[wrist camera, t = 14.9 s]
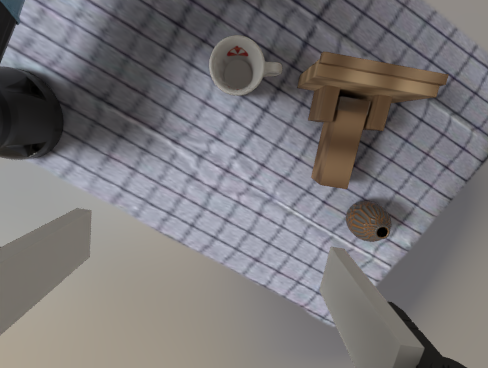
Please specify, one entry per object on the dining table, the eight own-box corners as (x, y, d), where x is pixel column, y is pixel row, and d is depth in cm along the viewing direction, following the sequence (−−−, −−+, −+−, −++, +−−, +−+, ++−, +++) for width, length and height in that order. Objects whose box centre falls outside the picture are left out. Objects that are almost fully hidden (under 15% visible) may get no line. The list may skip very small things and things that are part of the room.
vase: (376, 229, 51) (403, 250, 43) (340, 232, 51) (360, 253, 43) (377, 195, 50) (405, 210, 41) (341, 198, 50) (361, 213, 41)
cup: (278, 49, 44) (285, 33, 36) (277, 99, 46) (284, 94, 38) (213, 50, 44) (207, 34, 36) (215, 100, 46) (210, 95, 38)
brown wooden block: (335, 181, 49) (347, 189, 43) (310, 177, 49) (319, 184, 43) (354, 104, 46) (370, 101, 40) (328, 99, 46) (340, 96, 40)
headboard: (291, 117, 46) (309, 115, 34) (300, 71, 45) (323, 51, 32) (378, 132, 47) (429, 135, 34) (391, 88, 45) (448, 74, 33)
